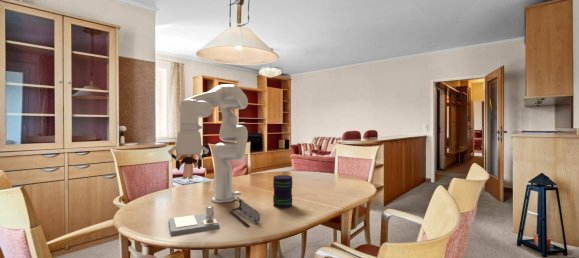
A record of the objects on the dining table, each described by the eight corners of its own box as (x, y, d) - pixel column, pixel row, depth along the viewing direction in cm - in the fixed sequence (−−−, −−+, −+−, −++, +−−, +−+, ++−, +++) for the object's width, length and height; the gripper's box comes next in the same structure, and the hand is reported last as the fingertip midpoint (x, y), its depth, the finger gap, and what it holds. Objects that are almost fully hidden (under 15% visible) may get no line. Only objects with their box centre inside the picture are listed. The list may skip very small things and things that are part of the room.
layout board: (211, 216, 128) (211, 212, 128) (219, 227, 114) (219, 223, 114) (168, 222, 120) (168, 217, 120) (171, 235, 106) (171, 230, 106)
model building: (235, 214, 138) (255, 232, 117) (225, 206, 136) (245, 222, 114) (245, 203, 141) (267, 218, 119) (235, 194, 138) (256, 208, 117)
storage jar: (277, 209, 138) (277, 179, 138) (270, 204, 147) (270, 175, 147) (295, 207, 142) (295, 177, 142) (287, 202, 151) (287, 174, 151)
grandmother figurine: (179, 179, 117) (180, 149, 117) (178, 178, 121) (179, 148, 121) (198, 178, 121) (199, 148, 121) (197, 177, 124) (197, 148, 124)
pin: (212, 219, 118) (212, 205, 118) (214, 222, 115) (214, 207, 115) (205, 220, 117) (205, 206, 117) (206, 223, 114) (206, 208, 114)
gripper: (208, 128, 128) (208, 167, 128) (166, 128, 121) (166, 169, 120) (211, 128, 121) (211, 169, 121) (167, 128, 114) (167, 171, 114)
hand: (188, 169), depth 121 cm, fingers closed on grandmother figurine, 7 cm apart
